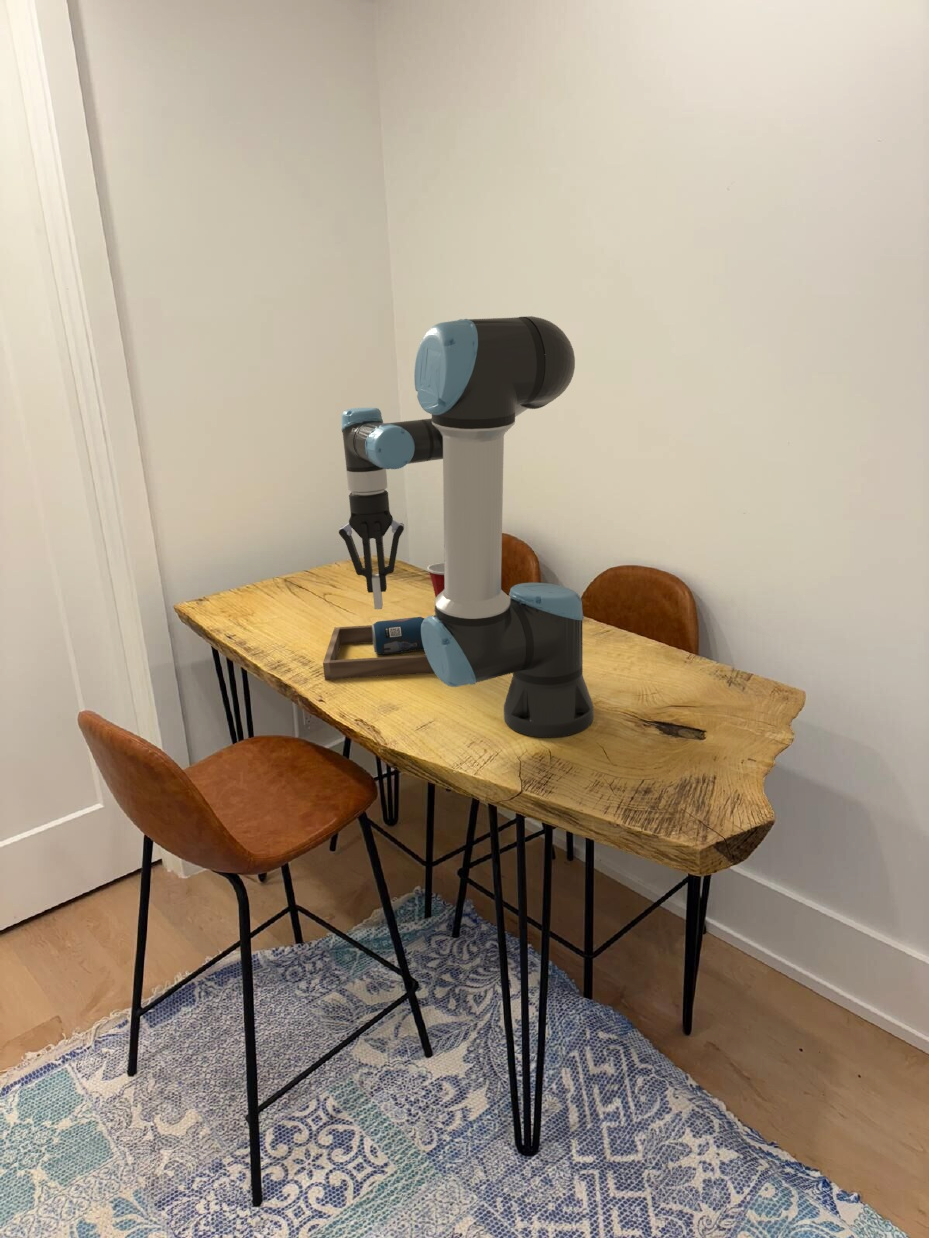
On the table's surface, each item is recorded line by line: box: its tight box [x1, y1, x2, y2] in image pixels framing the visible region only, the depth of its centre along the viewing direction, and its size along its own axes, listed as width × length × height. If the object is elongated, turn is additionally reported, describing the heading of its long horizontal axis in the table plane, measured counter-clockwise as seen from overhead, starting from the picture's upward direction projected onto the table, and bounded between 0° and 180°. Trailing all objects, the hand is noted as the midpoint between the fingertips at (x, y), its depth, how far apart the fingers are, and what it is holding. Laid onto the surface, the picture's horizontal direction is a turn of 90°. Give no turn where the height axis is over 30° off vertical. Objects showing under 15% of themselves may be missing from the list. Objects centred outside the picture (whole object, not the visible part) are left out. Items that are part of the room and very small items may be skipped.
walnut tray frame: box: [322, 624, 435, 681], centre depth 172 cm, size 20×25×4 cm
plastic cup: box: [426, 562, 445, 598], centre depth 192 cm, size 11×11×12 cm
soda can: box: [371, 616, 426, 656], centre depth 174 cm, size 7×7×12 cm
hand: (378, 606), depth 168 cm, fingers closed
